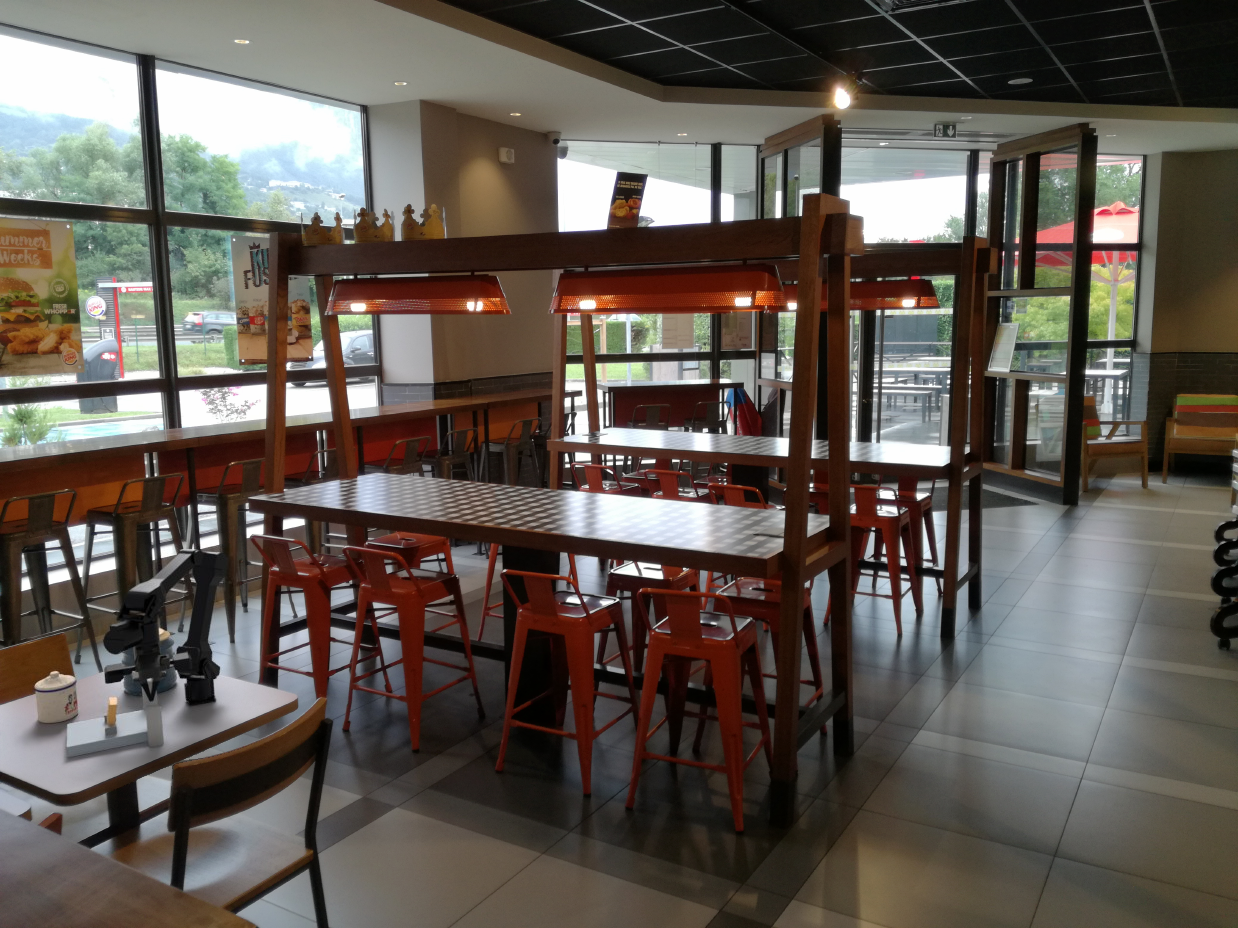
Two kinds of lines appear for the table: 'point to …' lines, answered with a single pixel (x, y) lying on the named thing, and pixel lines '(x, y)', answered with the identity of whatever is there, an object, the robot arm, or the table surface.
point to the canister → (171, 677)
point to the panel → (97, 737)
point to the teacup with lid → (56, 698)
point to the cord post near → (154, 725)
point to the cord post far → (145, 699)
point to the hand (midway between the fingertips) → (151, 700)
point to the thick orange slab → (112, 710)
